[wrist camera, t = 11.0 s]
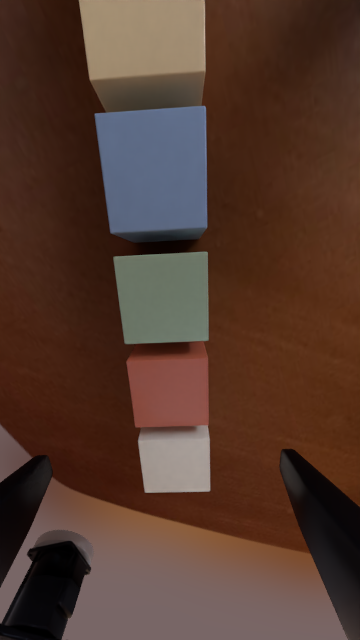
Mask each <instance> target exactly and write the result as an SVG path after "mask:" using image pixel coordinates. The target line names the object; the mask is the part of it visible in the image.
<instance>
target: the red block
mask: <svg viewBox="0 0 360 640" xmlns="http://www.w3.org/2000/svg"><path fill="white" fill-rule="evenodd" d="M126 362H127V370H128V377H129V384H130V392H131V399H132V406H133V413H134V421H135V427H167V426H200V425H209V393H208V357H207V353H206V349H205V345H204V341H190V342H165V343H140V344H136V346H135V347H134V349H133V351H132V353H131V354H130V356H129V358H128V360H127V361H126Z"/></svg>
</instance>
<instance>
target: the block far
mask: <svg viewBox="0 0 360 640" xmlns="http://www.w3.org/2000/svg"><path fill="white" fill-rule="evenodd" d="M138 445H139V453H140V460H141V468H142V475H143V483H144V490H145V493H154V492H203V491H210V438H209V431H208V425H200V426H167V427H141V431H140V435H139V439H138Z"/></svg>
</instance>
